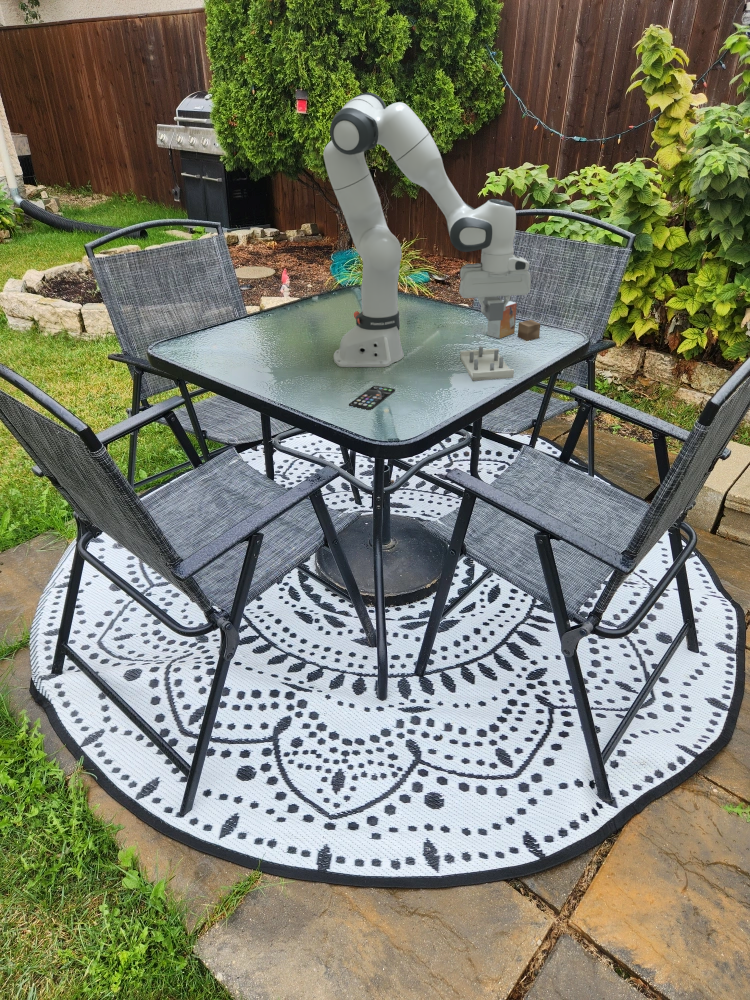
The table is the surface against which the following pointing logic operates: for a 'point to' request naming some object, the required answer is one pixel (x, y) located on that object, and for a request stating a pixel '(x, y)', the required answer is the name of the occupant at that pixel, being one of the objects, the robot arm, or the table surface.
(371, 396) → the smartphone
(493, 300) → the block
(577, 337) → the table surface
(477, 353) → the peg board
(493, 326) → the small box
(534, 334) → the walnut block
